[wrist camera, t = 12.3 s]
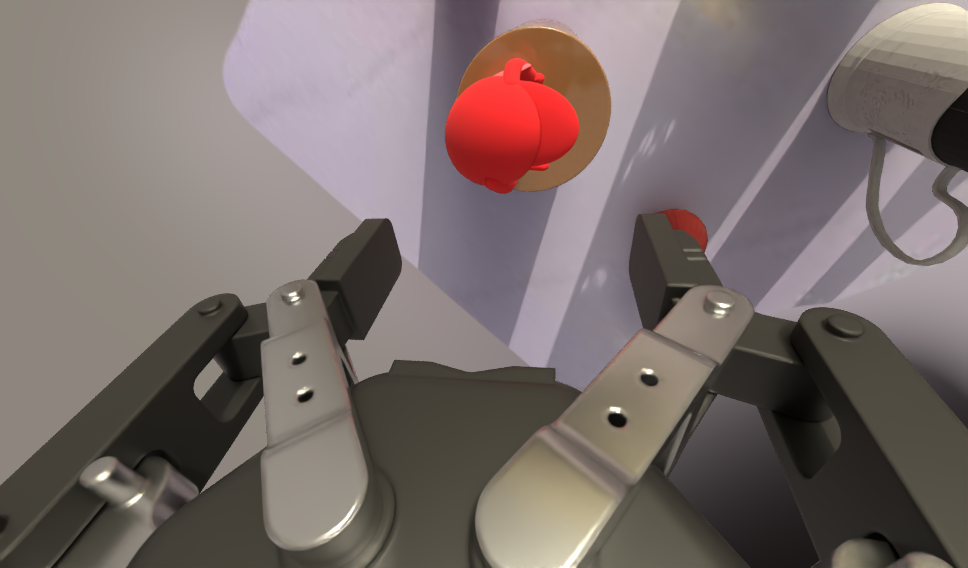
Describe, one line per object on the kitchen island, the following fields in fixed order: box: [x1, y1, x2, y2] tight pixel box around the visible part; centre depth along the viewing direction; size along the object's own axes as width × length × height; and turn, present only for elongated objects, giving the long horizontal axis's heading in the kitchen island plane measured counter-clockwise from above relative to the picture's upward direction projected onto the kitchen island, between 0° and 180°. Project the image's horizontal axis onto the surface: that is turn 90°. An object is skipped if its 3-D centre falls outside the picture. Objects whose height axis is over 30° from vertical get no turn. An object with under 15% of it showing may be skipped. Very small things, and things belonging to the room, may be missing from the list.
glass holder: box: [827, 3, 968, 266], centre depth 25 cm, size 9×14×15 cm, turn 174°
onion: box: [657, 209, 708, 252], centre depth 36 cm, size 6×6×8 cm
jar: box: [456, 20, 611, 192], centre depth 28 cm, size 10×10×13 cm
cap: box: [445, 58, 579, 194], centre depth 20 cm, size 8×6×6 cm
